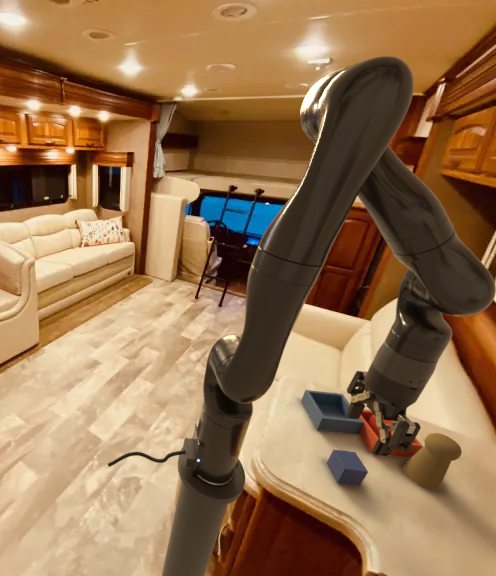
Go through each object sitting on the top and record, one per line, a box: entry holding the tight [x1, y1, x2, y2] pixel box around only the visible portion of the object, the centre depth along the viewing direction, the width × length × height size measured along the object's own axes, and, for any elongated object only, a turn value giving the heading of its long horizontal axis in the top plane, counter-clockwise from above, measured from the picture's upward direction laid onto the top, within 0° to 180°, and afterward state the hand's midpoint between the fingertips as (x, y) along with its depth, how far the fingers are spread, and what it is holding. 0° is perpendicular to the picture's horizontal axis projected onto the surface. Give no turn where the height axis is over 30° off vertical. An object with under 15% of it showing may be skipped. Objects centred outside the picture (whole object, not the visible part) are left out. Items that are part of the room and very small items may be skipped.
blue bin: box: [300, 389, 364, 436], centre depth 81 cm, size 9×9×4 cm
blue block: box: [326, 449, 369, 487], centre depth 67 cm, size 4×4×4 cm
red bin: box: [357, 409, 424, 459], centre depth 75 cm, size 9×9×4 cm
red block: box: [368, 415, 393, 438], centre depth 75 cm, size 4×4×4 cm
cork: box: [402, 432, 463, 491], centre depth 66 cm, size 6×6×11 cm
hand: (364, 434), depth 62 cm, fingers open, 8 cm apart
